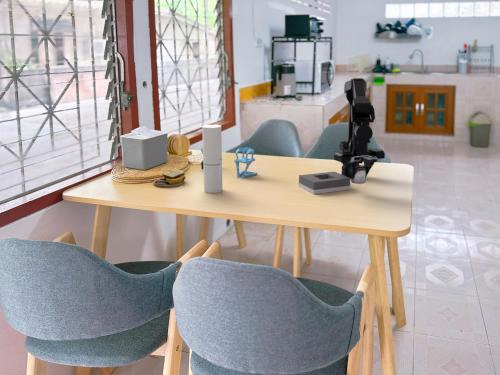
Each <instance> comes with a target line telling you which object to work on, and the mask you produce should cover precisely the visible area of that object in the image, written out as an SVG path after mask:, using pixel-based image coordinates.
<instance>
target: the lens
mask: <svg viewBox="0 0 500 375" xmlns="http://www.w3.org/2000/svg"><path fill="white" fill-rule="evenodd" d="M365 176H366V166H364V164H359V165H356V169H355V175H354V179H351V183H352V184H354V185H355V184H356V185H362V184H365V183H366V178H365ZM366 177H367V176H366Z"/></svg>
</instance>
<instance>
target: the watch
mask: <svg viewBox="0 0 500 375" xmlns="http://www.w3.org/2000/svg"><path fill="white" fill-rule="evenodd" d="M201 154H202V155H203V146H202V147H201ZM200 164H201V167H200V168H201V170H204V169H203V160H201V163H200Z"/></svg>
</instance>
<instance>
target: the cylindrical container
mask: <svg viewBox="0 0 500 375" xmlns="http://www.w3.org/2000/svg"><path fill="white" fill-rule="evenodd" d="M201 128H202V130H201V131H202V147H203V154H202V158H203V169H202V170H203V191H204V192H205V193H207V194H208V193H209V194H216V193H220V192H223V149H222V148H223V147H222V146H223V145H222V144H223V141H222V140H223V139H222V138H223V137H222V125H220V124H204V125H202V127H201Z"/></svg>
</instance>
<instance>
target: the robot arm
mask: <svg viewBox="0 0 500 375" xmlns="http://www.w3.org/2000/svg"><path fill="white" fill-rule="evenodd" d="M367 84H368V82H367V81H366V80H365V78H362V77H360V78H359V77H353V78H351V79H350V80H347V81H345V82H344V86H343V87H344V88H343V93H344V94H345V98H346V100H347V102H348V120H347V123H348V124H347V139H346V140H345V141H343V140H342V141H339V150H340V151H338V152H337V151H336V152H335V154H334V155H333V160H334V161H336V162H339V163H341V164H342V166H341V174H342V175H344V176H346V177H349V178H350V180H352V179H354V175H355V169H356V165H363V166H366V176H365V179H366V178H367V176H368V174H369V173H370V171H371V169H372V168H373V166H374V164H376V162H378V160H382V159H385V158H386V153H385V151H384V150H382V149H378V148H369V144H371V139H372V137H373V132H374V131H373V129H372V127H370V123H375V119H376V112H375V107H374V105H372V101H371V99H369V98H368V97H367V95H366V93H367V90H368V89H367V88H368V86H367Z"/></svg>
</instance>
